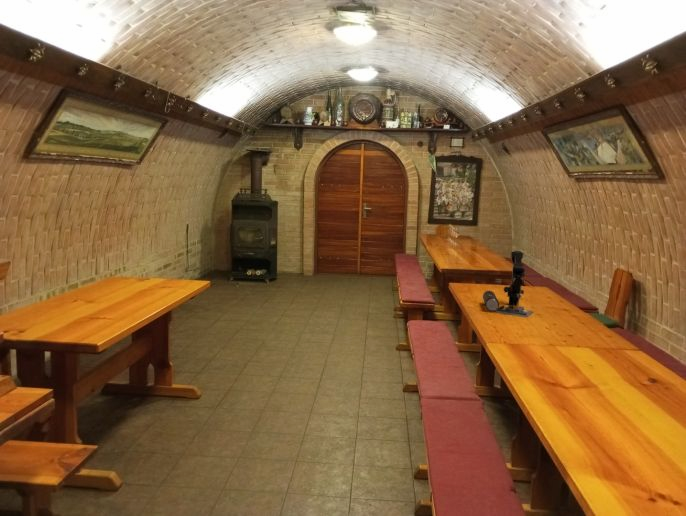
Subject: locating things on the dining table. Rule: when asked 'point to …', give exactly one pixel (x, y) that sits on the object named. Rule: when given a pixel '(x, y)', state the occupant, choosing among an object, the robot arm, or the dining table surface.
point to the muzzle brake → (490, 300)
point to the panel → (515, 313)
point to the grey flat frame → (510, 311)
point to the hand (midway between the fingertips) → (515, 305)
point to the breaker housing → (520, 309)
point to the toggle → (516, 306)
